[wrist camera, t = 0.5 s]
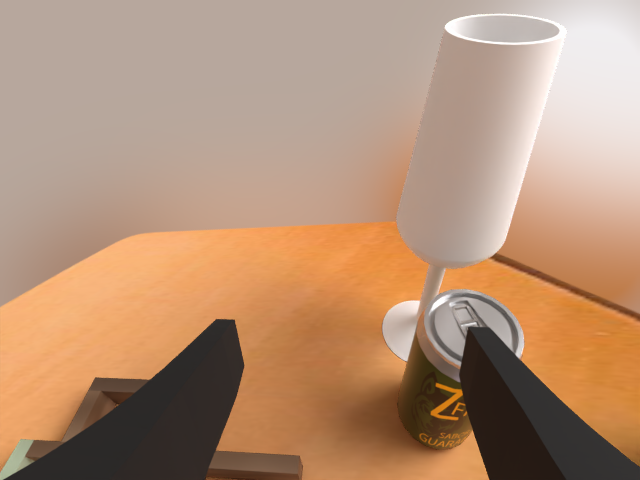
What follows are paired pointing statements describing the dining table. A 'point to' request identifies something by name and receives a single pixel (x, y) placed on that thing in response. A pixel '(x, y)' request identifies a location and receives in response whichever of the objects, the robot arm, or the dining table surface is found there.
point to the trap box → (259, 469)
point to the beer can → (448, 364)
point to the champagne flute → (472, 148)
